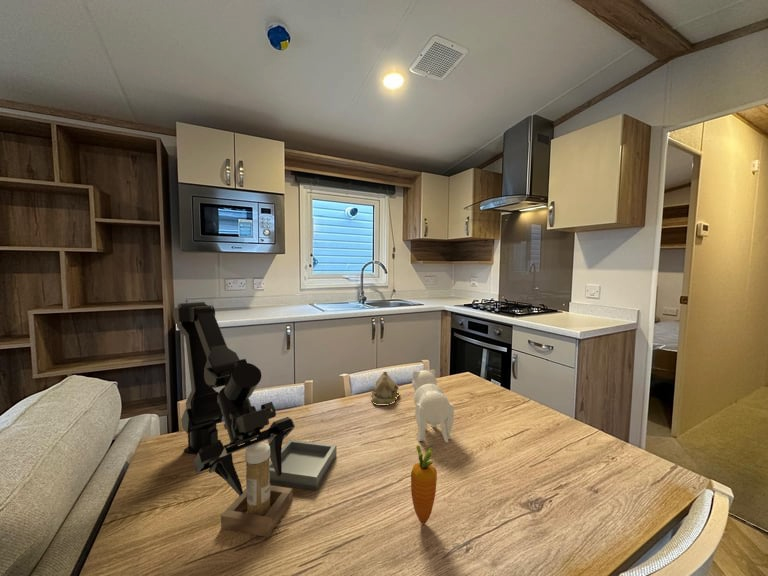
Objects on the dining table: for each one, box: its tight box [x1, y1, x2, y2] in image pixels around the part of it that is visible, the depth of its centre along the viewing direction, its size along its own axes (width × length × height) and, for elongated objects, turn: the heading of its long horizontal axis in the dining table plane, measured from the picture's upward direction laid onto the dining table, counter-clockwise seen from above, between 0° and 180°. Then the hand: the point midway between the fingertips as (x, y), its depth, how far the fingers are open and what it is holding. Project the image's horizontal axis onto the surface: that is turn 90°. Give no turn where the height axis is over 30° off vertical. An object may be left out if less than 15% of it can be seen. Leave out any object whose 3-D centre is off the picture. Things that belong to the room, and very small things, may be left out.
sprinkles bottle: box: [244, 442, 272, 516], centre depth 63 cm, size 5×5×13 cm
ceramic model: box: [370, 371, 400, 404], centre depth 120 cm, size 14×11×10 cm
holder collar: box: [220, 484, 293, 538], centre depth 63 cm, size 10×10×2 cm
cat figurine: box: [406, 369, 455, 443], centre depth 94 cm, size 25×10×17 cm, turn 12°
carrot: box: [410, 444, 438, 525], centre depth 61 cm, size 5×5×15 cm
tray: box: [269, 438, 337, 491], centre depth 78 cm, size 13×13×3 cm
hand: (261, 484), depth 62 cm, fingers open, 7 cm apart
